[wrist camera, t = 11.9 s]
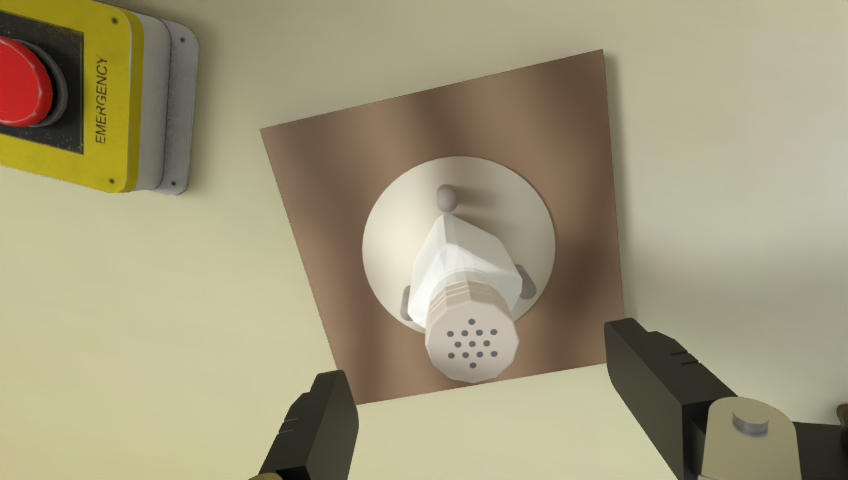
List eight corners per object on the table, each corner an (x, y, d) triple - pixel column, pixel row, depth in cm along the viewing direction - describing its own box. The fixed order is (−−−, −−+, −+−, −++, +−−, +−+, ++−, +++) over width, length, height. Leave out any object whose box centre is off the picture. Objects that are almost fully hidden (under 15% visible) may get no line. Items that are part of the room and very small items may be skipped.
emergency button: (139, 214, 19) (-179, 134, 19) (191, 197, 24) (-66, 132, 23) (149, 8, 17) (-223, -95, 16) (206, 31, 21) (-86, -50, 20)
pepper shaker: (409, 267, 23) (393, 365, 14) (441, 207, 22) (447, 269, 12) (470, 296, 23) (494, 410, 14) (504, 238, 22) (554, 321, 13)
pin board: (352, 395, 27) (339, 437, 23) (267, 128, 22) (234, 130, 18) (620, 350, 25) (650, 387, 22) (595, 52, 20) (629, 37, 17)
